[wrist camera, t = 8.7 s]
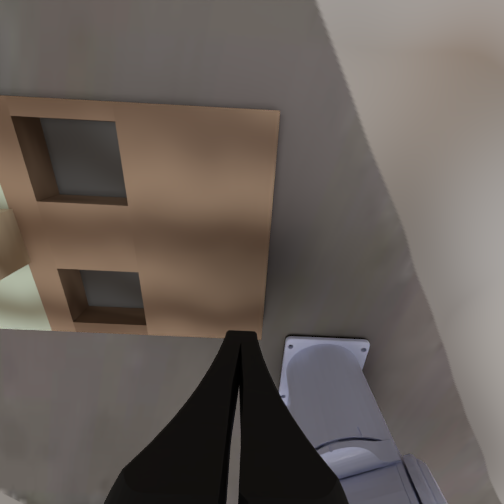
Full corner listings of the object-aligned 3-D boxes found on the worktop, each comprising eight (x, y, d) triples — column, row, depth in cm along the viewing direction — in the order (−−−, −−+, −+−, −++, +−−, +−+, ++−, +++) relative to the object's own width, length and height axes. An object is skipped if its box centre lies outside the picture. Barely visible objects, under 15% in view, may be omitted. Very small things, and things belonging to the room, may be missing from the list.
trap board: (260, 320, 24) (261, 339, 22) (10, 309, 24) (-15, 327, 21) (276, 113, 17) (280, 110, 15) (-79, 94, 17) (-132, 88, 14)
